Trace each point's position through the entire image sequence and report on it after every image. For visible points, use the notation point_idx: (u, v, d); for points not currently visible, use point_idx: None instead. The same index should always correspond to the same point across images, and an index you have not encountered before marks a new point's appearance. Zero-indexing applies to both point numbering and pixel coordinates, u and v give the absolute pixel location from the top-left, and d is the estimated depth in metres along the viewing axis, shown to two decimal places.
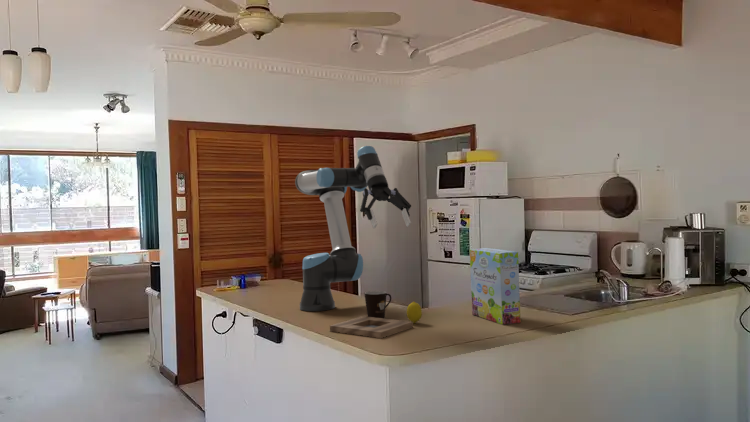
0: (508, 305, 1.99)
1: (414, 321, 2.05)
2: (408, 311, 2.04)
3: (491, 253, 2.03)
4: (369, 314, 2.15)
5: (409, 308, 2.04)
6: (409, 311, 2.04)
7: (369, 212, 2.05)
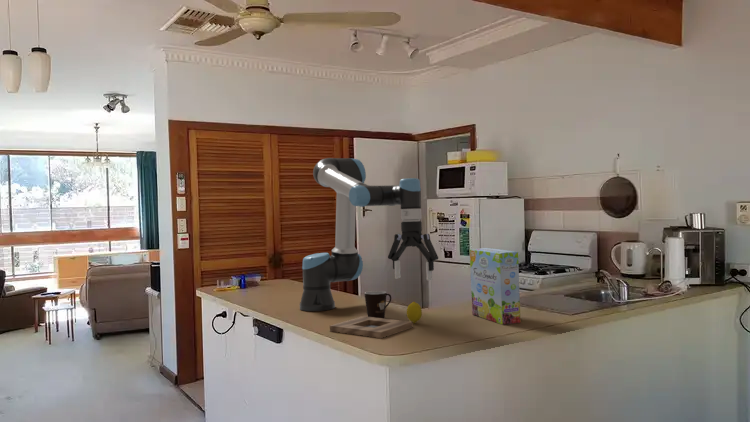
0: (508, 305, 1.99)
1: (414, 321, 2.05)
2: (408, 311, 2.04)
3: (491, 253, 2.03)
4: (369, 314, 2.15)
5: (409, 308, 2.04)
6: (409, 311, 2.04)
7: None
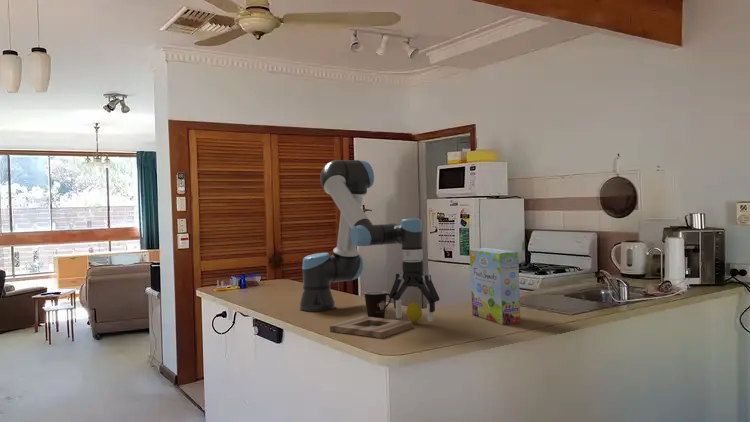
0: (508, 305, 1.99)
1: (414, 321, 2.05)
2: (408, 311, 2.04)
3: (491, 253, 2.03)
4: (369, 314, 2.15)
5: (409, 308, 2.04)
6: (409, 311, 2.04)
7: (395, 302, 2.10)
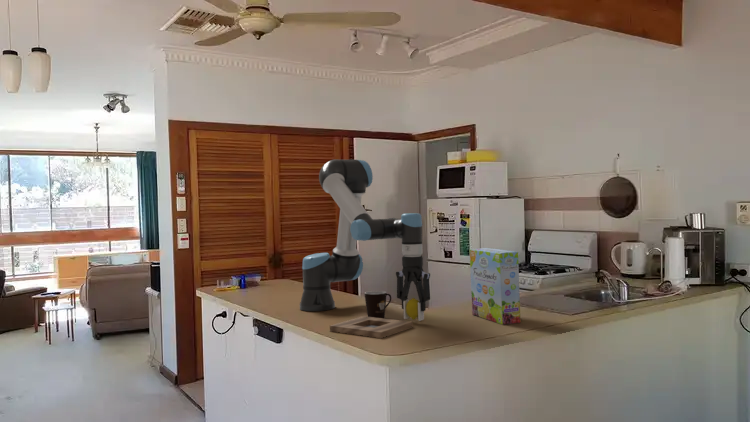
0: (508, 305, 1.99)
1: (413, 317, 2.05)
2: (407, 307, 2.05)
3: (491, 253, 2.03)
4: (369, 314, 2.15)
5: (408, 304, 2.05)
6: (408, 307, 2.04)
7: None
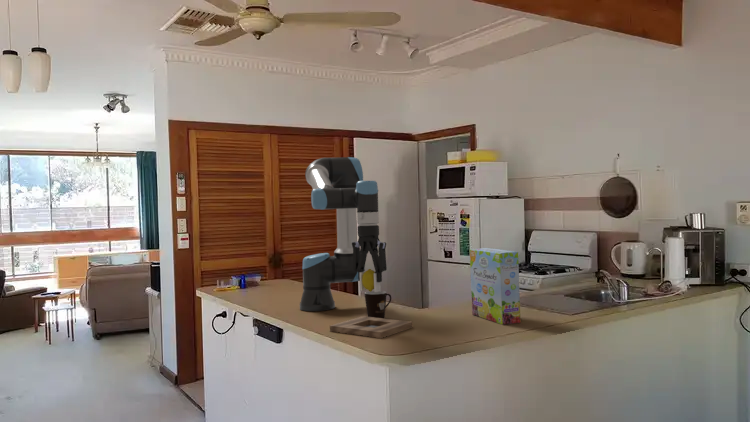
0: (508, 305, 1.99)
1: (370, 289, 1.97)
2: (363, 278, 1.97)
3: (491, 253, 2.03)
4: (369, 314, 2.15)
5: (364, 275, 1.97)
6: (364, 278, 1.96)
7: (359, 274, 2.00)
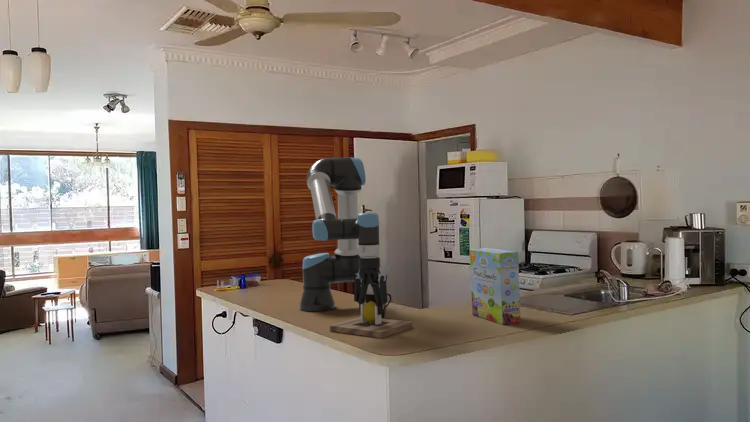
0: (508, 305, 1.99)
1: (371, 321, 1.97)
2: (364, 311, 1.97)
3: (491, 253, 2.03)
4: None
5: (365, 308, 1.97)
6: (365, 311, 1.96)
7: (360, 306, 2.00)
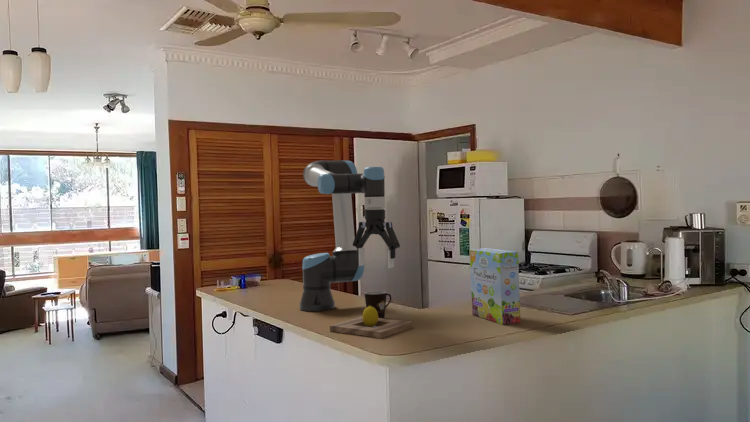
0: (508, 305, 1.99)
1: (370, 326, 1.97)
2: (364, 316, 1.97)
3: (491, 253, 2.03)
4: None
5: (365, 312, 1.97)
6: (365, 316, 1.97)
7: (358, 250, 2.13)
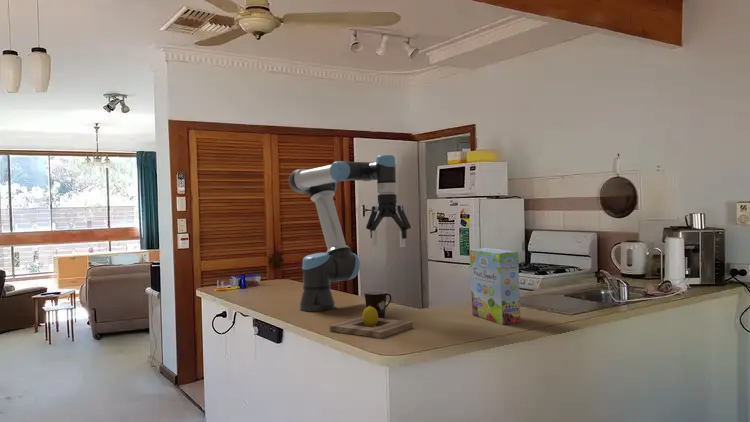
0: (508, 305, 1.99)
1: (370, 326, 1.97)
2: (364, 316, 1.97)
3: (491, 253, 2.03)
4: None
5: (365, 313, 1.97)
6: (365, 316, 1.97)
7: (371, 232, 2.31)
